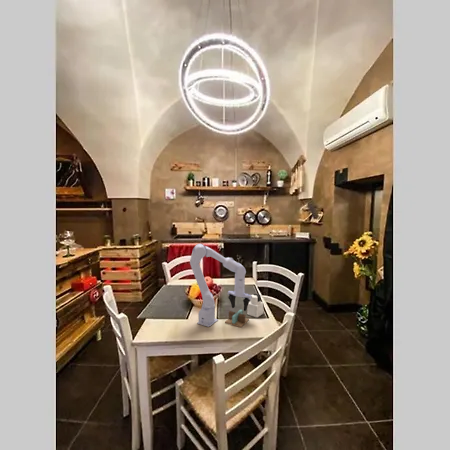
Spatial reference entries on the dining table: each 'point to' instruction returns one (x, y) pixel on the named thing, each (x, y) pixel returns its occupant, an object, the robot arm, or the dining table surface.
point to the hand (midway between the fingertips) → (239, 309)
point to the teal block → (236, 316)
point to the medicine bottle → (255, 306)
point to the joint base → (241, 319)
